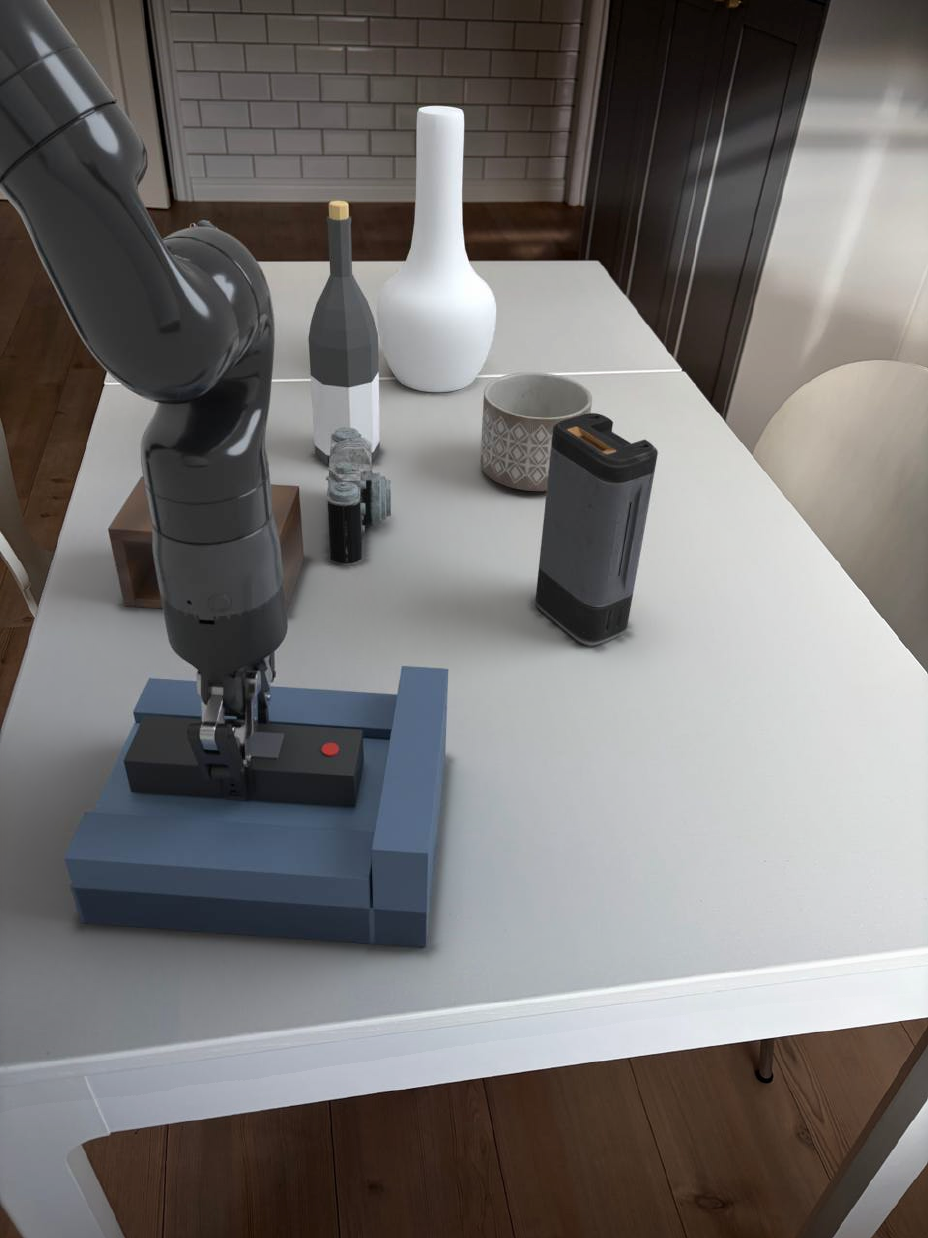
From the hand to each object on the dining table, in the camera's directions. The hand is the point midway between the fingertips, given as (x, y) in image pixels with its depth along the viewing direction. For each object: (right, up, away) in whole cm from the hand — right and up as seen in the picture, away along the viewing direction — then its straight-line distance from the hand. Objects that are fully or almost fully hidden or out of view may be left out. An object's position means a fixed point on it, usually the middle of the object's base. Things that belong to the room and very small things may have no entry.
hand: (247, 769), depth 71 cm
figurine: (-27, +65, +96) cm, 119 cm away
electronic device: (+27, +11, +28) cm, 40 cm away
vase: (+11, +46, +72) cm, 87 cm away
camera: (+4, +21, +39) cm, 45 cm away
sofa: (+1, -6, +4) cm, 7 cm away
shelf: (-10, +15, +30) cm, 35 cm away
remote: (0, -1, 0) cm, 1 cm away
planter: (+24, +29, +51) cm, 63 cm away
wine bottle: (+1, +31, +53) cm, 61 cm away
